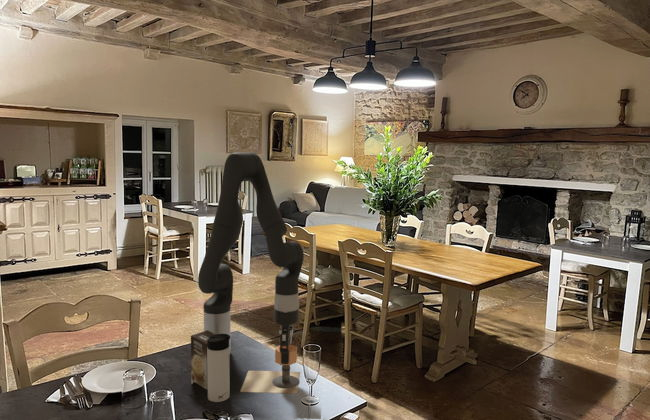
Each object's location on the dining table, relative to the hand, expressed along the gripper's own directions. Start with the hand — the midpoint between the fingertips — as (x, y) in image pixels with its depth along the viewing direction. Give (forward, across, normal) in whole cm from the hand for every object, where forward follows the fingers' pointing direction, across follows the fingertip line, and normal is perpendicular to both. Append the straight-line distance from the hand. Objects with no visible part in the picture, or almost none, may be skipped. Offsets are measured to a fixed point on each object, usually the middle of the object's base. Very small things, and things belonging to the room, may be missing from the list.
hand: (286, 358), depth 148 cm
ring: (+1, 0, 0) cm, 1 cm away
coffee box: (+9, +1, -24) cm, 26 cm away
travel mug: (+9, +10, -18) cm, 23 cm away
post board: (+9, 0, -4) cm, 10 cm away
